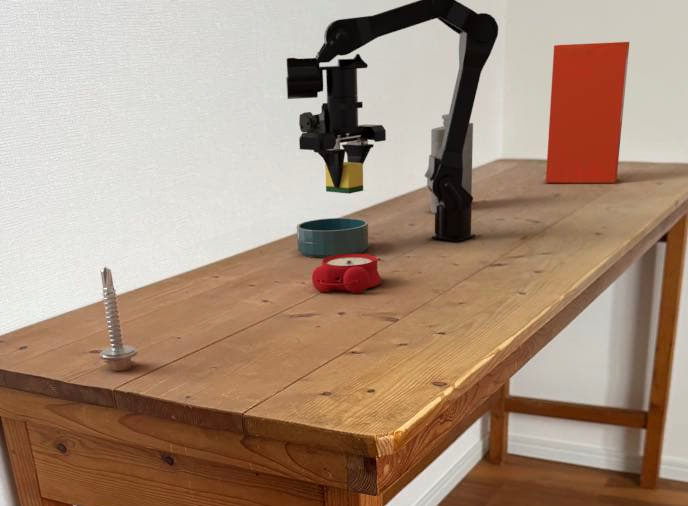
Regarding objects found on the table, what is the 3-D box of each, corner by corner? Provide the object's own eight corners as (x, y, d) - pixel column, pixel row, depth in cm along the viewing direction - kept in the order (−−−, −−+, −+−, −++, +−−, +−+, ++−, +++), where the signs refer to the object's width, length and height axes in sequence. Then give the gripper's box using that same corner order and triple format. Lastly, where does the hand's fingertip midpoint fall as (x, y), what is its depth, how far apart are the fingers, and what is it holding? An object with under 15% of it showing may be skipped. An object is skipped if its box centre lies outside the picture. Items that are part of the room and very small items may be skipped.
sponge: (363, 190, 182) (362, 163, 180) (348, 193, 179) (348, 165, 177) (340, 188, 186) (339, 161, 183) (325, 191, 183) (324, 164, 181)
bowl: (382, 248, 183) (382, 221, 181) (336, 261, 174) (335, 233, 172) (330, 241, 191) (329, 215, 189) (284, 254, 183) (282, 227, 180)
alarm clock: (389, 254, 160) (365, 252, 146) (387, 292, 161) (364, 294, 148) (330, 253, 163) (302, 251, 149) (330, 291, 164) (301, 292, 151)
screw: (95, 372, 122) (113, 361, 126) (128, 374, 120) (145, 363, 124) (78, 270, 116) (97, 262, 120) (113, 271, 114) (131, 262, 118)
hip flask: (440, 213, 214) (441, 117, 205) (424, 212, 216) (425, 117, 207) (473, 202, 225) (475, 110, 216) (458, 201, 227) (460, 111, 218)
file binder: (549, 179, 253) (558, 44, 238) (616, 179, 247) (629, 41, 232) (545, 183, 246) (553, 45, 231) (614, 183, 241) (627, 42, 225)
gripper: (343, 92, 186) (345, 177, 193) (275, 99, 174) (281, 189, 181) (387, 93, 179) (387, 180, 186) (319, 100, 167) (323, 193, 174)
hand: (344, 185), depth 182 cm, fingers closed on sponge, 4 cm apart
